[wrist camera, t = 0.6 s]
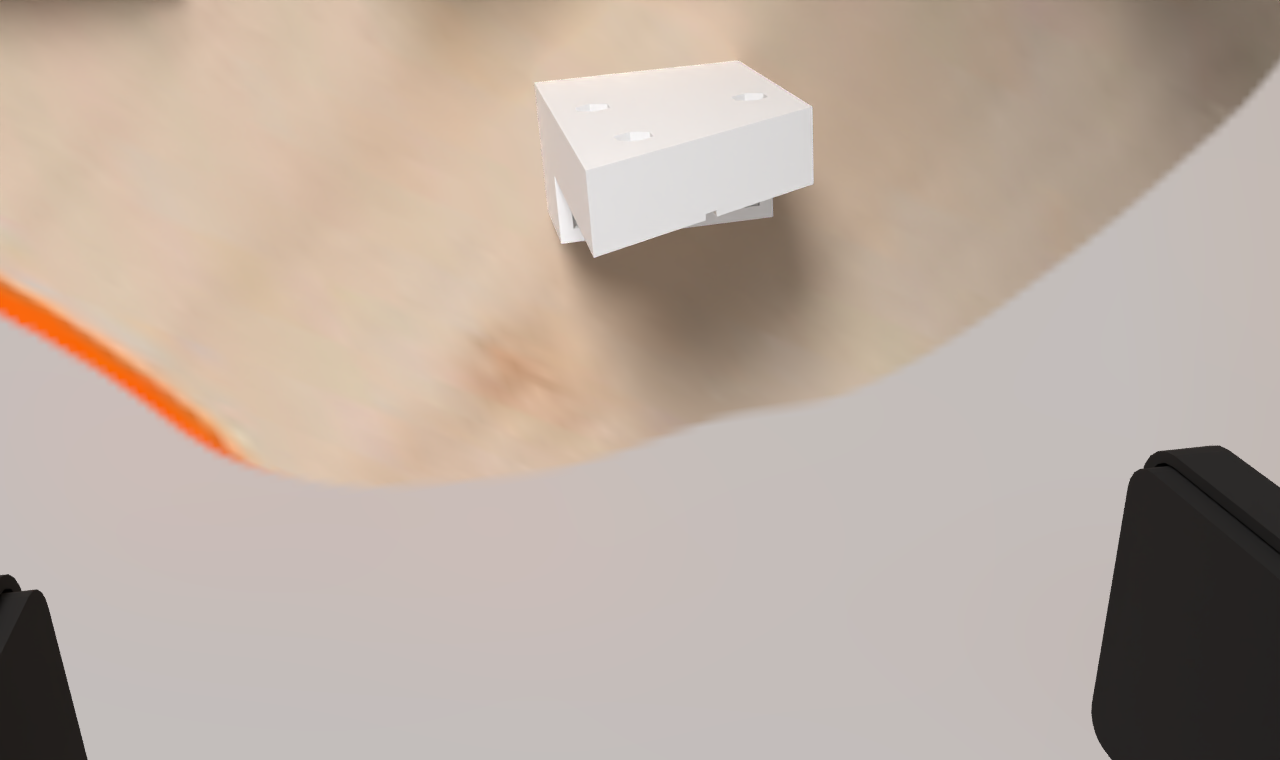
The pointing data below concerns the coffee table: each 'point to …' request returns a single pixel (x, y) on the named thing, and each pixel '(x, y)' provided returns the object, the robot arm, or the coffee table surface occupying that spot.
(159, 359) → the coffee table surface
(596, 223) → the white wedge bracket
